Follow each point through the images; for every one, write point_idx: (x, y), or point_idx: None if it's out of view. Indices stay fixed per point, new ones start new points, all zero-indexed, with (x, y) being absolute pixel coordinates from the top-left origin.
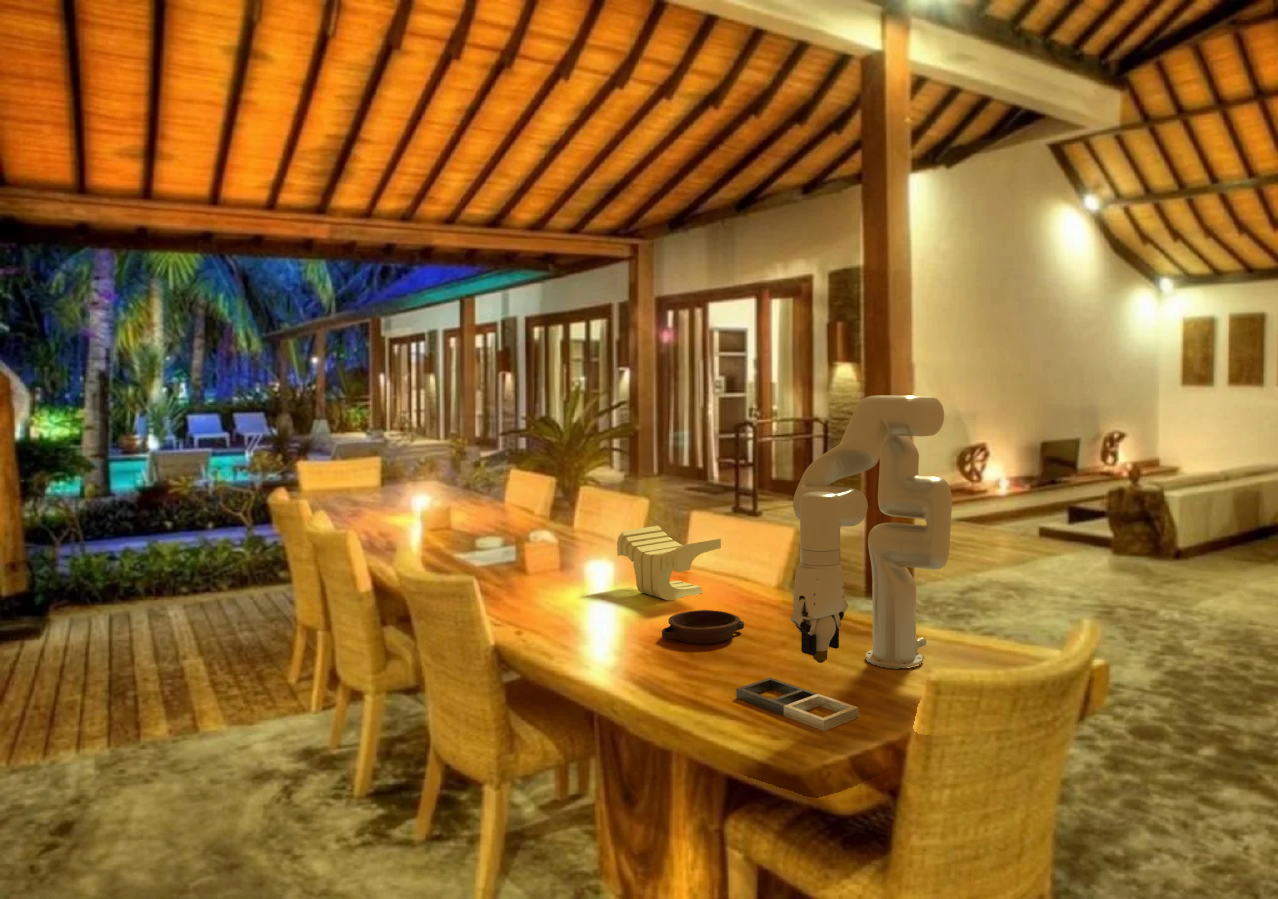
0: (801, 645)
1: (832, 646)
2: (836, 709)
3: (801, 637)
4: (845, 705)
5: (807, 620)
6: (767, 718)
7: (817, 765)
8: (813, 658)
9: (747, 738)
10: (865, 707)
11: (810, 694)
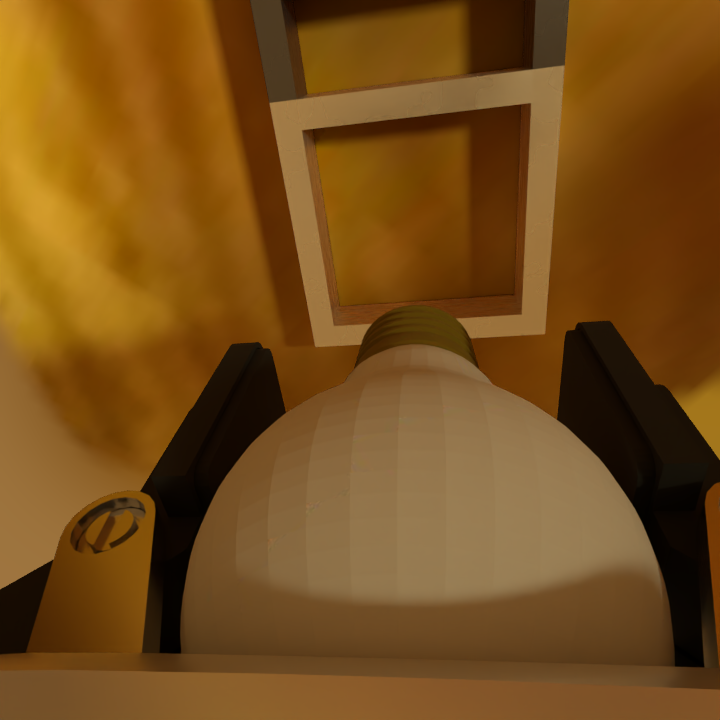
0: (213, 375)
1: (562, 419)
2: (518, 223)
3: (181, 428)
4: (523, 286)
5: (185, 649)
6: (196, 70)
7: (150, 467)
8: (368, 329)
9: (21, 205)
10: (671, 251)
11: (533, 30)
